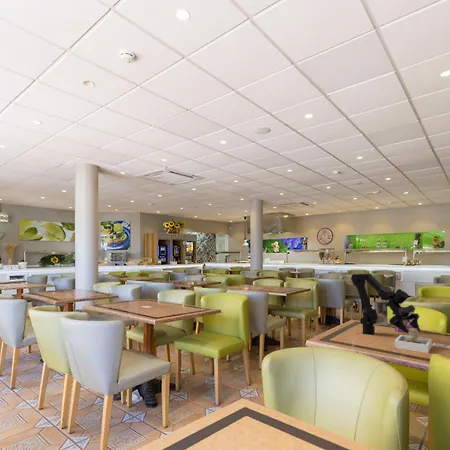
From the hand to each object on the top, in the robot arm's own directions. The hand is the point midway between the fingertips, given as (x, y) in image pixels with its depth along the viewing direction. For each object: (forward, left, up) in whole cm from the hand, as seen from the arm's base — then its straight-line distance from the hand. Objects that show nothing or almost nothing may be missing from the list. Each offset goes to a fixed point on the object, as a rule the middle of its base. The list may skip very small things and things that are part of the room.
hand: (413, 331), depth 195 cm
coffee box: (-29, +49, -9) cm, 57 cm away
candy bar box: (-11, +36, -9) cm, 38 cm away
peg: (0, 0, -8) cm, 8 cm away
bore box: (0, 0, -8) cm, 8 cm away
